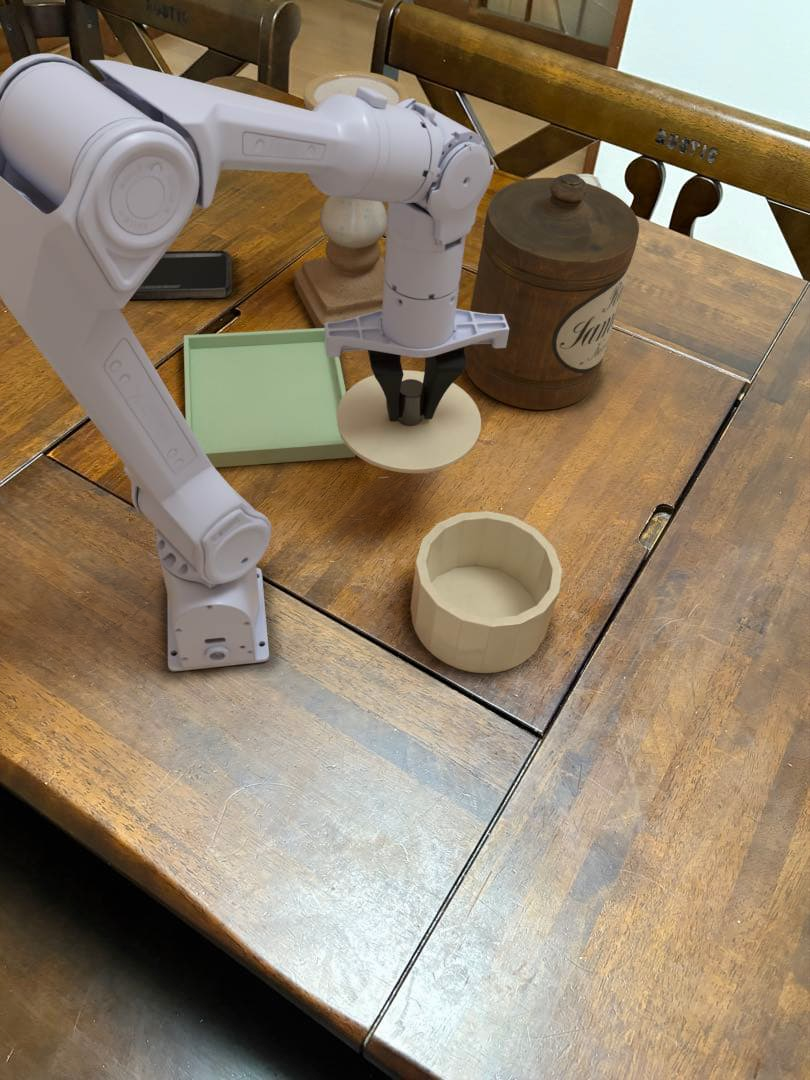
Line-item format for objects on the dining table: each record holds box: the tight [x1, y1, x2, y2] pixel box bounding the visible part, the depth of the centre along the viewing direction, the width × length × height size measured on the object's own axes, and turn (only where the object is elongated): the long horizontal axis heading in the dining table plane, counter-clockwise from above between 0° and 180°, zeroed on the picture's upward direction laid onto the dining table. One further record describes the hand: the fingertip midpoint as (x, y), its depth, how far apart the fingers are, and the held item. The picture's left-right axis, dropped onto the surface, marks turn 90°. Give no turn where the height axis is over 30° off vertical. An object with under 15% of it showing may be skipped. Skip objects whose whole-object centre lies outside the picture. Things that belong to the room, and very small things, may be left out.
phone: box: [130, 250, 233, 300], centre depth 106 cm, size 8×1×15 cm
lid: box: [337, 369, 482, 474], centre depth 79 cm, size 13×13×4 cm
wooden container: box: [464, 173, 640, 411], centre depth 92 cm, size 15×15×22 cm
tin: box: [409, 510, 563, 674], centre depth 76 cm, size 12×12×7 cm
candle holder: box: [293, 70, 410, 328], centre depth 97 cm, size 11×11×24 cm
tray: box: [183, 327, 356, 469], centre depth 93 cm, size 18×16×2 cm
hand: (409, 412), depth 79 cm, fingers closed on lid, 2 cm apart
